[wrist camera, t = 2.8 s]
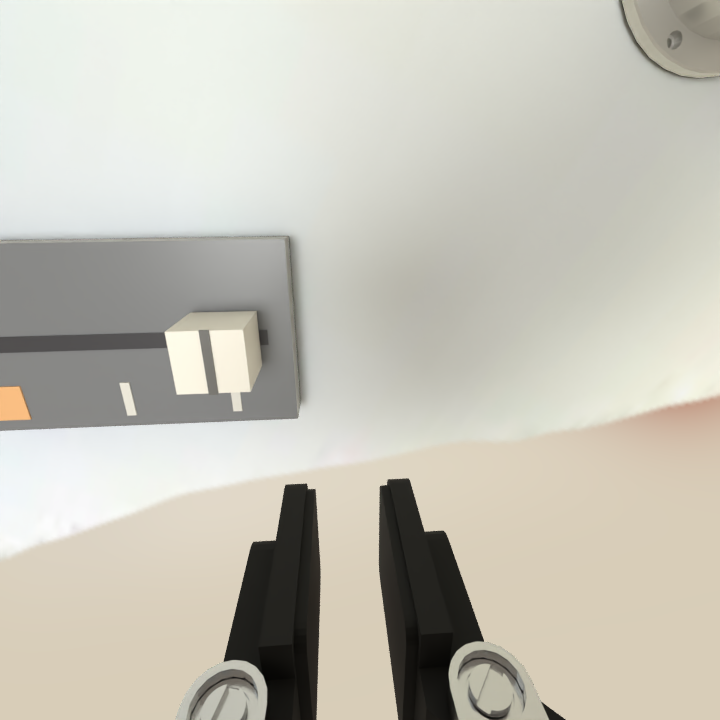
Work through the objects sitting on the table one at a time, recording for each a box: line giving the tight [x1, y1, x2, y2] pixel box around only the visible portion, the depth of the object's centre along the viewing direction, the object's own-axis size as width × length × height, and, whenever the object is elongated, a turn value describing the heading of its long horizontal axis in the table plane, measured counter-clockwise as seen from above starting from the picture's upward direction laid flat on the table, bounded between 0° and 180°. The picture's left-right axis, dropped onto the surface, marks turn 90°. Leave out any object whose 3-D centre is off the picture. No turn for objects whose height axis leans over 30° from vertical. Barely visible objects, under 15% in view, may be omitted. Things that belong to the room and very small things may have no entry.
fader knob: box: [165, 311, 262, 395], centre depth 23 cm, size 4×4×4 cm
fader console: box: [0, 236, 300, 431], centre depth 26 cm, size 22×12×3 cm, turn 91°
